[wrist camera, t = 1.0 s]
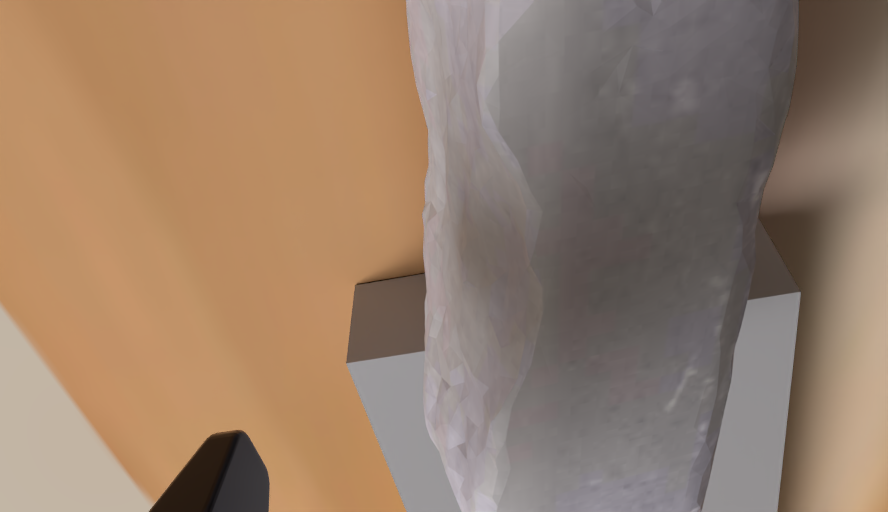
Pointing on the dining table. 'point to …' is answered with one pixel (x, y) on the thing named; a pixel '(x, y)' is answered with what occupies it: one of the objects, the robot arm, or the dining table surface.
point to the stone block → (591, 238)
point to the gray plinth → (743, 425)
